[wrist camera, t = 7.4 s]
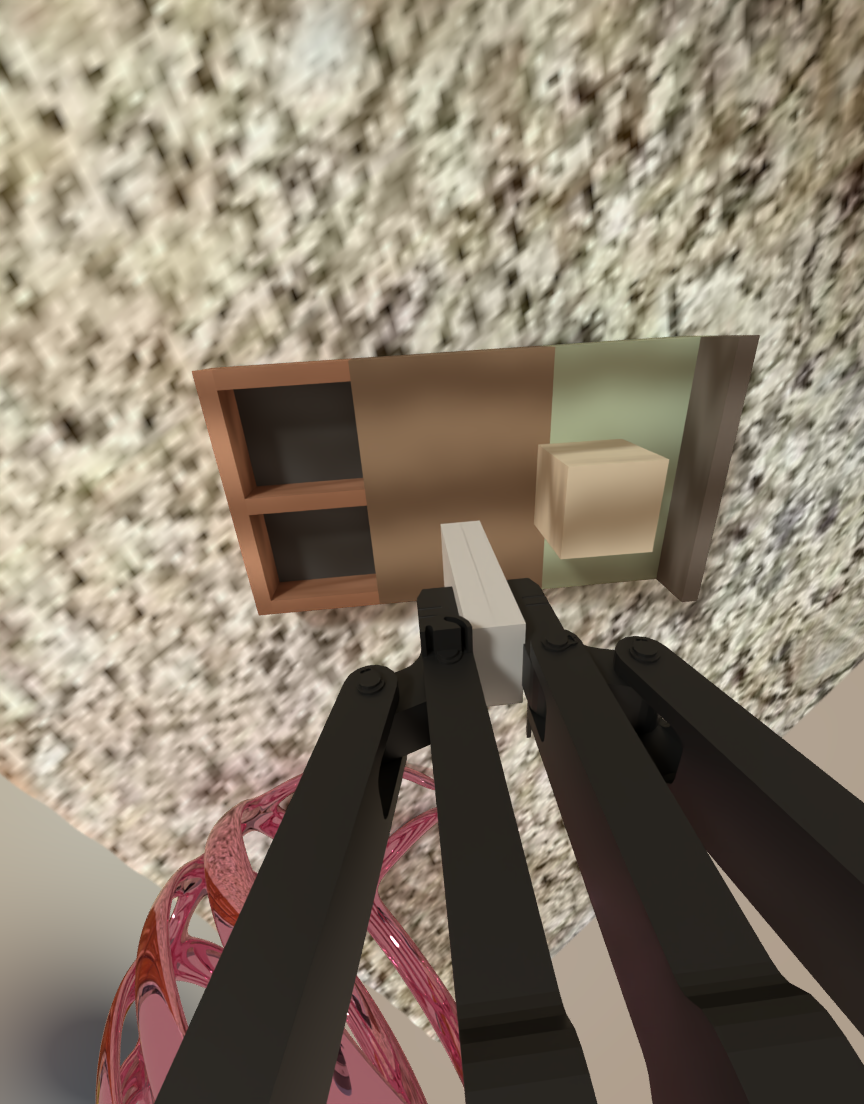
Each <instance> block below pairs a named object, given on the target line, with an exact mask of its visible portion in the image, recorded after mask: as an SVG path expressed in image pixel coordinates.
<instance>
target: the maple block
mask: <svg viewBox="0 0 864 1104" xmlns="http://www.w3.org/2000/svg"><path fill="white" fill-rule="evenodd" d="M668 464H669V459H667V458H665V457H663V456H660V455H658V454H656V453H653V452H651V451H649V450H647V449H644V448H642V447H640V446H637V445H635V444H633V443H631V442H628V441H626V440H624V439H610V440H596V441H582V442H567V443H553V444H539V445H538V457H537V476H536V495H535V514H534V525H535V526H536V527H537V529H538V530H539V531H540V533H541V534H542V535H543V537H544V538H545V539H546V541H547V542H548V543H549V545H550V546H551V547H552V549H553V550H554V551H555V553H556V554H557V555H558V556H559V558H560V559H572V558H584V557H596V556H608V555H621V554H633V553H645V552H653V546H654V541H655V535H656V530H657V524H658V519H659V513H660V508H661V502H662V497H663V492H664V486H665V481H666V475H667V470H668Z"/></svg>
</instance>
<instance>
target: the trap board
mask: <svg viewBox="0 0 864 1104" xmlns="http://www.w3.org/2000/svg"><path fill="white" fill-rule="evenodd" d="M759 337H760V335H725V336H677V337H662V338H648V339H633V340H618V341H603V342H589V343H574V344H559V345H544V346H530V347H515V348H500V349H485V350H470V351H456V352H441V353H426V354H411V355H397V356H382V357H367V358H352V359H338V360H323V361H308V362H293V363H279V364H264V365H249V366H234V367H220V368H210V369H203V370H197V371H192V374H193V378H194V381H195V385H196V389H197V392H198V396H199V400H200V403H201V407H202V411H203V414H204V418H205V421H206V425H207V429H208V432H209V436H210V440H211V443H212V447H213V451H214V454H215V458H216V462H217V465H218V469H219V472H220V476H221V480H222V483H223V487H224V491H225V494H226V498H227V502H228V505H229V509H230V512H231V516H232V520H233V523H234V527H235V531H236V534H237V538H238V542H239V545H240V549H241V553H242V556H243V560H244V563H245V567H246V571H247V574H248V578H249V582H250V585H251V589H252V593H253V596H254V600H255V603H256V607H257V611H258V614H259V615H268V614H279V613H290V612H301V611H312V610H322V609H333V608H344V607H355V606H366V605H377V604H388V603H398V602H409V601H417V597H418V596H419V594H420V592H421V590H422V589H430V588H440V587H445V586H444V573H443V556H442V540H441V524H447V523H458V522H469V521H480V523H481V525H482V527H483V529H484V532H485V534H486V536H487V538H488V541H489V543H490V545H491V547H492V549H493V552H494V554H495V556H496V558H497V561H498V563H499V565H500V567H501V569H502V572H503V574H504V576H505V578H506V580H510V579H520V578H529V579H531V580H532V581H534V582H535V583H537V584H538V585H539V586H540V588H541V589H551V588H561V587H572V586H583V585H594V584H605V583H616V582H627V581H637V580H648V579H657V580H658V581H659V582H660V583H661V584H662V585H664V586H665V587H666V588H667V589H668V590H669V591H670V592H671V593H672V594H673V595H675V596H676V597H677V598H678V599H679V600H680V601H681V602H687V601H697V599H698V595H699V590H700V586H701V582H702V578H703V574H704V569H705V565H706V561H707V557H708V552H709V548H710V544H711V540H712V535H713V531H714V527H715V523H716V519H717V514H718V510H719V506H720V502H721V497H722V493H723V489H724V485H725V481H726V476H727V472H728V468H729V464H730V459H731V455H732V451H733V447H734V442H735V438H736V434H737V430H738V426H739V421H740V417H741V413H742V409H743V404H744V400H745V396H746V392H747V388H748V383H749V379H750V375H751V371H752V366H753V362H754V358H755V354H756V349H757V345H758V341H759ZM610 439H624V440H626V441H628V442H631V443H633V444H635V445H637V446H640V447H642V448H644V449H647V450H649V451H651V452H653V453H656V454H658V455H660V456H663V457H665V458H667V459H669V464H668V470H667V475H666V481H665V486H664V492H663V497H662V502H661V508H660V513H659V519H658V524H657V530H656V535H655V541H654V546H653V552H645V553H633V554H621V555H608V556H596V557H584V558H572V559H560V558H559V556H558V555H557V554H556V553H555V551H554V550H553V549H552V547H551V546H550V545H549V543H548V542H547V541H546V539H545V538H544V537H543V535H542V534H541V533H540V531H539V530H538V529H537V527H536V526H535V525H534V514H535V495H536V476H537V457H538V445H539V444H553V443H567V442H582V441H596V440H610Z"/></svg>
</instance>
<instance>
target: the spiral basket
mask: <svg viewBox="0 0 864 1104" xmlns="http://www.w3.org/2000/svg"><path fill="white" fill-rule="evenodd" d="M302 775H303V773H302V774H300V775H298V776H295V777H293V778H291V779H289V780H287V781H286V782H284V783H282V784H280V785H278V786H277V787H275V788H273V789H271V790H270V791H268V792H266V793H264V794H262V795H260V796H258V797H255V798H252V799H247V800H244V801H242V802H240V803H238V804H237V805H235V806H234V807H232V808H231V809H230V810H229V811H227V812H226V813H225V814H224V815H223V816H222V817H221V818H220V819H219V820H218V821H217V823H216V824H215V825H214V827H213V828H212V830H211V832H210V834H209V836H208V838H207V842H206V846H205V852H204V853H203V854H202V855H201V856H199V857H197V858H196V859H194V860H191V861H189V862H188V863H186V864H184V865H183V866H182V867H180V868H179V869H178V870H177V871H176V872H175V873H174V874H173V875H172V876H171V877H170V879H169V880H168V881H167V883H166V884H165V885H164V887H163V888H162V890H161V891H160V893H159V894H158V896H157V898H156V900H155V901H154V903H153V905H152V907H151V909H150V911H149V914H148V916H147V918H146V921H145V923H144V926H143V929H142V933H141V937H140V941H139V945H138V951H137V958H136V960H135V961H134V963H133V964H132V965H131V967H130V968H129V970H128V971H127V973H126V974H125V976H124V978H123V980H122V981H121V983H120V985H119V988H118V990H117V992H116V994H115V997H114V1000H113V1002H112V1005H111V1008H110V1011H109V1014H108V1018H107V1021H106V1025H105V1029H104V1033H103V1037H102V1042H101V1047H100V1053H99V1061H98V1069H97V1081H96V1104H136V1103H138V1104H154V1102H155V1100H156V1098H157V1096H158V1093H159V1091H160V1089H161V1087H162V1084H163V1082H164V1080H165V1078H166V1076H167V1073H168V1071H169V1069H170V1067H171V1065H172V1062H173V1060H174V1058H175V1056H176V1053H177V1051H178V1049H179V1047H180V1045H181V1042H182V1040H183V1038H184V1036H185V1034H186V1031H187V1029H188V1025H187V1021H186V1018H185V1015H184V1012H183V1008H182V1005H181V1001H180V997H179V993H178V989H177V985H176V981H184V982H190V983H193V984H196V985H199V986H201V987H204V988H206V987H207V985H208V983H209V980H210V978H211V976H212V974H213V972H214V969H215V967H216V965H217V963H218V961H219V958H220V956H221V954H222V952H223V949H224V948H223V947H225V945H226V943H227V941H228V938H229V936H230V934H231V932H232V930H233V927H234V925H235V923H236V921H237V918H238V916H239V914H240V912H241V910H242V907H243V905H244V903H245V901H246V899H247V896H248V894H249V892H250V890H251V887H252V885H253V883H254V881H255V879H256V876H257V874H258V873H256V872H255V871H253V870H252V867H251V864H250V862H249V859H248V856H247V852H246V849H245V845H244V841H243V836H244V835H246V834H247V833H249V832H251V831H258V832H261V833H263V834H265V835H267V836H268V837H270V838H272V839H274V837H275V834H276V832H277V830H278V828H279V825H280V823H281V821H282V819H283V817H284V814H285V812H286V811H285V810H284V809H282V808H281V807H280V806H279V804H280V802H281V801H283V800H284V799H285V798H286V797H288V796H289V795H291V794H293V793H294V792H295V790H296V788H297V786H298V783H299V781H300V779H301V777H302ZM403 778H404V779H407V780H409V781H412V782H414V783H417V784H419V785H421V786H424V787H426V788H429V789H432V790H435V784H434V779H432V778H431V777H429V776H427V775H425V774H423V773H421V772H418V771H416V770H413V769H411V768H408V767H405V769H404V773H403ZM437 823H438V815H437V807H435V808H432V809H430V810H428V811H426V812H424V813H422V814H420V815H418V816H417V817H415V818H413V819H412V820H410V821H409V822H407V823H406V824H405V825H403V826H402V827H401V828H399V829H398V830H397V831H395V832H394V833H393V834H392V835H391V836H389V838H388V842H387V846H386V851H385V855H384V859H383V863H382V868H381V872H380V876H379V881H378V885H377V889H376V894H375V898H374V902H373V906H372V911H371V915H370V919H369V924H368V928H367V931H368V932H369V933H370V935H371V936H372V937H373V938H374V940H375V941H376V942H377V944H378V945H379V946H380V948H381V949H382V950H383V952H384V953H385V954H386V956H387V957H388V959H389V960H390V961H391V963H392V964H393V966H394V967H395V968H396V970H397V971H398V973H399V974H400V976H401V977H402V979H403V980H404V982H405V983H406V985H407V986H408V988H409V989H410V991H411V992H412V994H413V995H414V997H415V999H416V1000H417V1002H418V1003H419V1005H420V1007H421V1008H422V1010H423V1011H424V1013H425V1015H426V1016H427V1018H428V1020H429V1022H430V1023H431V1025H432V1027H433V1028H434V1030H435V1032H436V1034H437V1035H438V1037H439V1039H440V1041H441V1043H442V1045H443V1046H444V1048H445V1050H446V1052H447V1054H448V1056H449V1058H450V1060H451V1062H452V1064H453V1066H454V1068H455V1070H456V1072H457V1074H458V1076H459V1078H460V1080H461V1082H462V1084H463V1087H464V1081H463V1071H462V1061H461V1050H460V1040H459V1030H458V1020H457V1009H456V1002H455V1001H454V999H453V998H452V996H451V994H450V993H449V991H448V990H447V988H446V987H445V985H444V984H443V982H442V981H441V979H440V978H439V976H438V975H437V974H436V972H435V971H434V969H433V968H432V966H431V965H430V964H429V962H428V961H427V959H426V958H425V957H424V955H423V954H422V952H421V951H420V950H419V948H418V947H417V946H416V944H415V943H414V942H413V940H412V939H411V938H410V936H409V935H408V934H407V932H406V931H405V930H404V929H403V927H402V926H401V925H400V923H399V922H398V921H397V920H396V918H395V917H394V916H393V915H392V913H391V912H390V911H389V910H388V909H387V907H386V906H385V905H384V903H383V902H382V900H381V899H380V896H379V894H378V886H379V883H380V881H381V880H382V878H383V877H384V876H385V874H386V873H387V872H388V871H389V870H390V869H391V867H392V866H393V865H394V864H395V863H396V862H397V861H398V860H399V859H400V858H401V857H402V855H403V854H404V853H405V852H406V851H407V850H408V849H409V848H410V847H411V846H412V845H413V844H414V843H415V842H416V841H417V840H418V839H419V838H420V837H421V836H422V835H424V834H425V833H426V832H427V831H428V830H429V829H430V828H432V827H433V826H434V825H435V824H437ZM207 895H208V898H209V903H210V907H211V911H212V914H213V918H214V921H215V924H216V927H217V930H218V933H219V936H220V939H221V942H222V945H223V947H221V946H219V945H217V944H215V943H212V942H210V941H207V940H204V939H200V938H195V937H192V936H190V935H189V934H188V926H189V922H190V919H191V917H192V915H193V913H194V911H195V909H196V907H197V905H198V904H199V902H200V901H201V900H202V899H203V898H204V897H205V896H207ZM176 897H178V900H177V903H176V906H175V908H174V911H173V914H172V915H171V918H170V908H171V903H172V900H173V899H174V898H176ZM169 918H170V920H169ZM134 1001H135V1003H136V1016H137V1024H138V1031H139V1039H138V1042H137V1044H136V1046H135V1048H134V1050H133V1051H132V1052H131V1053H130V1055H129V1056H128V1057H127V1058H126V1059H125V1061H124V1062H123V1064H122V1065H121V1067H120V1044H121V1034H122V1028H123V1023H124V1019H125V1017H126V1014H127V1012H128V1010H129V1008H130V1007H131V1005H132V1004H133V1002H134ZM346 1022H347V1024H348V1026H349V1027H350V1029H351V1031H352V1033H353V1034H354V1036H355V1038H356V1039H357V1042H358V1043H359V1045H360V1047H361V1049H362V1050H361V1049H360V1048H359V1046H358V1045H357V1043H356V1042H355V1041H354V1040H353V1038H352V1037H351V1036H350V1034H349V1033H348V1032H347V1030H346V1029H345V1028H344V1031H343V1035H342V1040H341V1044H340V1048H339V1052H338V1057H337V1061H336V1065H335V1070H334V1074H333V1078H332V1082H331V1087H330V1091H329V1095H328V1100H327V1104H428V1103H427V1101H426V1098H425V1096H424V1094H423V1092H422V1089H421V1087H420V1085H419V1083H418V1081H417V1079H416V1076H415V1074H414V1072H413V1070H412V1068H411V1066H410V1064H409V1062H408V1060H407V1058H406V1056H405V1054H404V1052H403V1050H402V1048H401V1046H400V1044H399V1043H398V1041H397V1039H396V1037H395V1036H394V1034H393V1032H392V1030H391V1028H390V1027H389V1025H388V1023H387V1021H386V1020H385V1018H384V1016H383V1015H382V1013H381V1011H380V1010H379V1008H378V1006H377V1005H376V1004H375V1002H374V1000H373V999H372V997H371V995H370V994H369V992H368V991H367V989H366V988H365V986H364V985H363V984H362V982H361V981H360V979H359V978H358V976H357V975H356V979H355V984H354V988H353V992H352V997H351V1001H350V1005H349V1009H348V1014H347V1018H346Z"/></svg>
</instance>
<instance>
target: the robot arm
mask: <svg viewBox="0 0 864 1104" xmlns="http://www.w3.org/2000/svg"><path fill="white" fill-rule="evenodd" d="M441 540H442V556H443V573H444V586H445V587H440V588H430V589H422V590H421V592H420V594H419V596H418V597H417V607H418V617H419V628H420V639H421V654H420V656H419V658H418V659H417V660H416V661H415V663H413V664H412V665H411V666H409V667H407V668H405V669H403V670H401V671H398V672H395V673H394V671H392V670H391V669H389V668H388V667H385V666H380V665H370V666H365V667H362V668H359V669H357V670H356V671H354V672H353V673H351V674H350V675H349V676H348V678H347V679H346V680H345V682H344V684H343V686H342V688H341V690H340V693H339V695H338V697H337V699H336V701H335V704H334V706H333V708H332V710H331V713H330V715H329V717H328V719H327V721H326V724H325V726H324V728H323V730H322V732H321V735H320V737H319V739H318V741H317V744H316V746H315V748H314V750H313V752H312V755H311V757H310V759H309V761H308V763H307V766H306V768H305V770H304V772H303V775H302V777H301V779H300V781H299V783H298V786H297V788H296V790H295V792H294V794H293V797H292V799H291V801H290V803H289V806H288V808H287V810H286V812H285V814H284V817H283V819H282V821H281V823H280V825H279V828H278V830H277V832H276V834H275V837H274V839H273V841H272V843H271V845H270V848H269V850H268V852H267V854H266V856H265V859H264V861H263V863H262V865H261V868H260V870H259V872H258V874H257V876H256V879H255V881H254V883H253V885H252V887H251V890H250V892H249V894H248V896H247V899H246V901H245V903H244V905H243V907H242V910H241V912H240V914H239V916H238V918H237V921H236V923H235V925H234V927H233V930H232V932H231V934H230V936H229V938H228V941H227V943H226V945H225V947H224V949H223V952H222V954H221V956H220V958H219V961H218V963H217V965H216V967H215V969H214V972H213V974H212V976H211V978H210V980H209V983H208V985H207V987H206V989H205V991H204V994H203V996H202V999H201V1000H200V1003H199V1005H198V1007H197V1009H196V1011H195V1014H194V1016H193V1018H192V1020H191V1023H190V1025H189V1027H188V1029H187V1031H186V1034H185V1036H184V1038H183V1040H182V1042H181V1045H180V1047H179V1049H178V1051H177V1053H176V1056H175V1058H174V1060H173V1062H172V1065H171V1067H170V1069H169V1071H168V1073H167V1076H166V1078H165V1080H164V1082H163V1084H162V1087H161V1089H160V1091H159V1093H158V1096H157V1098H156V1100H155V1102H154V1104H327V1100H328V1095H329V1091H330V1087H331V1082H332V1078H333V1074H334V1070H335V1065H336V1061H337V1057H338V1052H339V1048H340V1044H341V1040H342V1035H343V1031H344V1026H345V1022H346V1018H347V1014H348V1009H349V1005H350V1001H351V997H352V992H353V988H354V984H355V979H356V975H357V971H358V967H359V962H360V958H361V954H362V949H363V945H364V941H365V936H366V932H367V928H368V924H369V919H370V915H371V911H372V906H373V902H374V898H375V894H376V889H377V885H378V881H379V876H380V872H381V868H382V863H383V859H384V855H385V851H386V846H387V842H388V838H389V833H390V829H391V825H392V821H393V816H394V812H395V808H396V803H397V799H398V795H399V790H400V786H401V782H402V778H403V773H404V769H405V765H406V760H407V754H410V753H412V752H414V751H417V750H419V749H421V748H423V747H426V746H428V745H430V744H431V754H432V764H433V774H434V784H435V795H436V805H437V815H438V825H439V836H440V846H441V856H442V866H443V877H444V887H445V897H446V907H447V917H448V928H449V938H450V948H451V958H452V969H453V979H454V989H455V999H456V1009H457V1020H458V1030H459V1040H460V1050H461V1061H462V1071H463V1081H464V1091H465V1102H466V1104H597V1101H596V1097H595V1093H594V1089H593V1086H592V1082H591V1078H590V1074H589V1071H588V1067H587V1064H586V1060H585V1057H584V1054H583V1050H582V1047H581V1044H580V1041H579V1039H578V1036H577V1033H576V1030H575V1028H574V1026H573V1024H572V1023H571V1021H570V1019H569V1018H568V1016H567V1014H566V1012H565V1009H564V1007H563V1003H562V999H561V997H560V992H559V989H558V985H557V981H556V977H555V973H554V969H553V965H552V961H551V957H550V953H549V949H548V945H547V941H546V937H545V933H544V930H543V926H542V922H541V918H540V914H539V910H538V906H537V902H536V898H535V894H534V890H533V886H532V882H531V878H530V874H529V871H528V867H527V863H526V859H525V855H524V851H523V847H522V843H521V839H520V835H519V831H518V827H517V823H516V819H515V815H514V812H513V808H512V804H511V800H510V796H509V792H508V788H507V784H506V780H505V776H504V772H503V768H502V764H501V760H500V756H499V752H498V749H497V745H496V741H495V737H494V733H493V729H492V725H491V721H490V717H489V713H488V709H487V707H488V706H497V705H506V704H515V703H523V690H524V692H525V695H526V698H527V701H528V705H527V725H526V734H527V738H530V737H531V729H532V732H533V734H534V737H535V740H536V743H537V746H538V749H539V752H540V755H541V758H542V761H543V764H544V766H545V769H546V772H547V775H548V778H549V781H550V784H551V787H552V790H553V793H554V796H555V799H556V801H557V804H558V807H559V810H560V813H561V816H562V819H563V822H564V825H565V828H566V831H567V833H568V836H569V839H570V842H571V845H572V848H573V851H574V854H575V857H576V860H577V863H578V866H579V868H580V871H581V874H582V877H583V880H584V883H585V886H586V889H587V892H588V895H589V898H590V900H591V903H592V906H593V909H594V912H595V915H596V918H597V921H598V923H599V927H600V929H601V932H602V935H603V938H604V941H605V944H606V947H607V950H608V953H609V956H610V958H611V962H612V965H613V967H614V970H615V973H616V976H617V979H618V982H619V985H620V988H621V991H622V994H623V997H624V999H625V1002H626V1005H627V1008H628V1011H629V1014H630V1017H631V1020H632V1023H633V1026H634V1028H635V1031H636V1034H637V1037H638V1040H639V1043H640V1046H641V1049H642V1052H643V1055H644V1059H645V1062H646V1065H647V1070H648V1074H649V1081H650V1088H651V1095H652V1102H653V1104H864V1065H863V1063H862V1062H861V1060H860V1059H859V1057H858V1055H857V1054H856V1052H855V1051H854V1049H853V1048H852V1046H851V1044H850V1043H849V1041H848V1040H847V1038H846V1036H845V1035H844V1034H843V1032H842V1031H841V1029H840V1028H839V1027H838V1025H837V1024H836V1022H835V1021H834V1020H833V1018H832V1017H831V1016H830V1014H829V1013H828V1012H827V1010H826V1009H825V1008H824V1007H823V1006H822V1005H821V1004H820V1003H819V1002H818V1001H817V1000H816V999H815V998H814V997H813V996H812V995H811V994H809V993H807V992H806V991H804V990H802V989H800V988H798V987H796V986H795V985H792V984H791V983H789V982H788V981H787V980H786V979H785V978H784V977H783V976H782V975H781V973H780V972H779V971H778V969H777V968H776V966H775V965H774V963H773V962H772V960H771V959H770V957H769V955H768V954H767V952H766V950H765V949H764V947H763V945H762V944H761V942H760V941H759V939H758V937H757V935H756V933H755V932H754V930H753V928H752V927H751V925H750V924H749V922H748V920H747V918H746V917H745V915H744V913H743V912H742V910H741V908H740V907H739V905H738V903H737V902H736V900H735V898H734V896H733V895H732V893H731V892H730V890H729V888H728V886H727V885H726V883H725V881H724V880H723V878H722V876H721V875H720V873H719V871H718V870H717V868H716V866H715V865H714V863H713V861H712V860H711V858H710V856H709V854H710V855H711V857H712V858H713V859H714V860H715V861H716V862H717V864H718V865H719V866H720V867H721V868H722V870H723V871H724V872H725V873H726V874H727V876H728V877H729V878H730V879H731V880H732V881H733V883H734V884H735V885H736V886H737V887H738V889H739V890H740V891H741V892H742V893H743V894H744V896H745V897H746V898H747V899H748V900H749V902H750V903H751V904H752V905H753V906H754V907H755V909H756V910H757V911H758V912H759V913H760V915H761V916H762V917H763V918H764V919H765V921H766V922H767V923H768V924H769V925H770V926H771V927H772V929H773V930H774V931H775V932H776V933H777V935H778V936H779V937H780V938H781V939H782V941H783V942H784V943H785V944H786V945H787V946H788V948H789V949H790V950H791V951H792V952H793V953H794V955H795V956H796V957H797V958H798V960H799V961H800V962H801V963H802V964H803V966H804V967H805V968H806V969H807V970H808V971H809V973H810V974H811V975H812V976H813V977H814V979H815V980H816V981H817V982H818V983H819V984H820V986H821V987H822V988H823V989H824V990H825V992H826V993H827V994H828V995H829V996H830V997H831V999H832V1000H833V1001H834V1002H835V1003H836V1005H837V1006H838V1007H839V1008H840V1009H841V1011H842V1012H843V1013H844V1014H845V1015H846V1016H847V1018H848V1019H849V1020H850V1021H851V1022H852V1024H853V1025H854V1026H855V1027H856V1028H857V1029H858V1031H859V1032H860V1033H861V1034H862V1035H863V1036H864V803H863V802H862V801H861V800H859V799H858V798H857V797H856V796H854V795H853V794H852V793H850V792H849V791H848V790H847V789H845V788H844V787H843V786H842V785H840V784H839V783H838V782H837V781H835V780H834V779H833V778H831V777H830V776H829V775H828V774H826V773H825V772H824V771H823V770H821V769H820V768H819V767H818V766H816V765H815V764H814V763H813V762H811V761H810V760H809V759H808V758H806V757H805V756H804V755H802V754H801V753H800V752H799V751H797V750H796V749H795V748H793V747H792V746H791V745H790V744H789V743H787V742H786V741H785V740H784V739H782V738H781V737H780V736H778V735H777V734H776V733H775V732H773V731H772V730H771V729H770V728H768V727H767V726H766V725H765V724H763V723H762V722H761V721H760V720H758V719H757V718H756V717H754V716H753V715H752V714H751V713H749V712H748V711H747V710H746V709H744V708H743V707H742V706H741V705H739V704H738V703H737V702H735V701H734V700H733V699H732V698H730V697H729V696H728V695H727V694H725V693H724V692H723V691H722V690H720V689H719V688H718V687H717V686H715V685H714V684H713V683H711V682H710V681H709V680H708V679H706V678H705V677H704V676H703V675H701V674H700V673H699V672H698V671H696V670H695V669H694V668H693V667H691V666H690V665H689V664H687V663H686V662H685V661H684V660H682V659H681V658H680V657H679V656H677V655H676V654H675V653H674V652H672V651H671V650H670V649H669V648H667V647H666V646H664V645H663V644H661V643H659V642H658V641H656V640H653V639H650V638H647V637H639V636H632V637H625V638H624V639H622V640H620V641H619V642H618V643H617V645H616V647H615V650H609V649H600V648H594V647H588V646H586V645H584V644H583V643H582V641H581V640H580V639H579V638H578V637H577V636H576V635H575V634H573V633H572V632H570V631H568V630H564V628H563V627H562V625H561V623H560V621H559V619H558V618H557V616H556V614H555V612H554V611H553V609H552V607H551V605H550V604H549V602H548V600H547V598H546V597H545V596H544V593H543V591H542V589H541V588H540V586H539V585H538V584H537V583H535V582H534V581H532V580H531V579H529V578H520V579H510V580H506V578H505V576H504V574H503V572H502V569H501V567H500V565H499V563H498V561H497V558H496V556H495V554H494V552H493V549H492V547H491V545H490V543H489V541H488V538H487V536H486V534H485V532H484V529H483V527H482V525H481V523H480V521H469V522H458V523H447V524H441ZM707 852H708V853H709V854H708V853H707Z"/></svg>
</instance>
